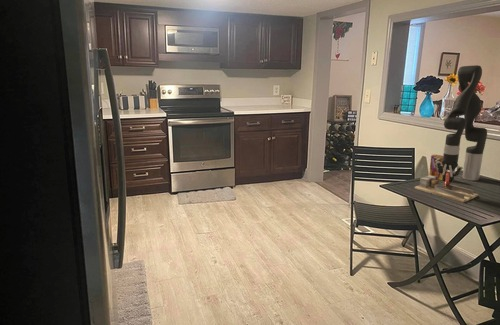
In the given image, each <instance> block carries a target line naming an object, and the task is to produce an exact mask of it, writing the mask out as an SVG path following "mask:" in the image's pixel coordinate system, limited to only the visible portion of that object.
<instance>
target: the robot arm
mask: <svg viewBox="0 0 500 325" xmlns="http://www.w3.org/2000/svg"><path fill="white" fill-rule="evenodd" d="M482 75H483V69H482V66H481V65H475V64H474V65H462V66H460V67H459V68H458V70H457V80H458V86H459V88H460V93H459V95H458V96H457V97H456V98H455V100H454V103H453V106H452V109H451V111H450V112H449V114H448V115H447V116H446V117H445V119H444V123H443V126H444V128H445V130H451V131H452V130H453V131H456V132H454V133H447V135H446V136H445V144H444V148H443V155H442V156H443V161H442V163H437V166H438V169H439V173H442V174H443V177H442V180H441V181H443V182H445V175H446V172H450V180H449V183H450V184H452V183H454V181H455V177H458V176H459V174H460V173H461V171H462V176H461V177H462V179H464V180H466V181H479V180H480V175H481V169H482V163H483V162H482V161H483V155H484V151H485V146H486V142H487V137H488V129H487V128H484V127H478V126H474V121H475V119H477V117H478V116H479V115H480V114H481V112H482V103H481V102H482V100H481V98H480V97H479V96H478V94H477V93H476V92H475V91H476V89H477V87H478V85H479V83H480V81H481V79H482ZM462 116H463V117H462ZM463 133H464V137H465V140H466V141H468V142H472V143H476V144H475V145H473V146H467V147H466V149H465V155H464V156H465V157H464V162H463V166H460V165H459V163H458V162H459V158H460V156H459V155H460V150H461V149H460V144H461V139H462V136H463ZM442 165H443V167H444V169H443V167H442Z"/></svg>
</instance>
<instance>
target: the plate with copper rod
mask: <svg viewBox="0 0 500 325" xmlns="http://www.w3.org/2000/svg"><path fill="white" fill-rule="evenodd" d="M449 180H450V171H447V172H446V175H445V181H443V182H439V183H438V184H435V186H437V187H440V188H444V189H448V190H452V185H453V184H452V183H449ZM434 190H435V188H434Z"/></svg>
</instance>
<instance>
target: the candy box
mask: <svg viewBox="0 0 500 325" xmlns="http://www.w3.org/2000/svg"><path fill="white" fill-rule="evenodd" d="M442 161H443V155H442V154H435V153H434V154H431V155H430V166H429V173H428V176H429V175H431V176H435V177H436V180H438V181H443V180H442V177H443V174H442V173H439V169H438V166H437V163H442ZM442 167H443V165H442ZM443 169H444V167H443Z"/></svg>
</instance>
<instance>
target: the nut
mask: <svg viewBox="0 0 500 325" xmlns="http://www.w3.org/2000/svg"><path fill="white" fill-rule="evenodd" d="M439 181H440V180H439V179H436V180H431V188H435V184H438V183H440V182H439Z"/></svg>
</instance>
